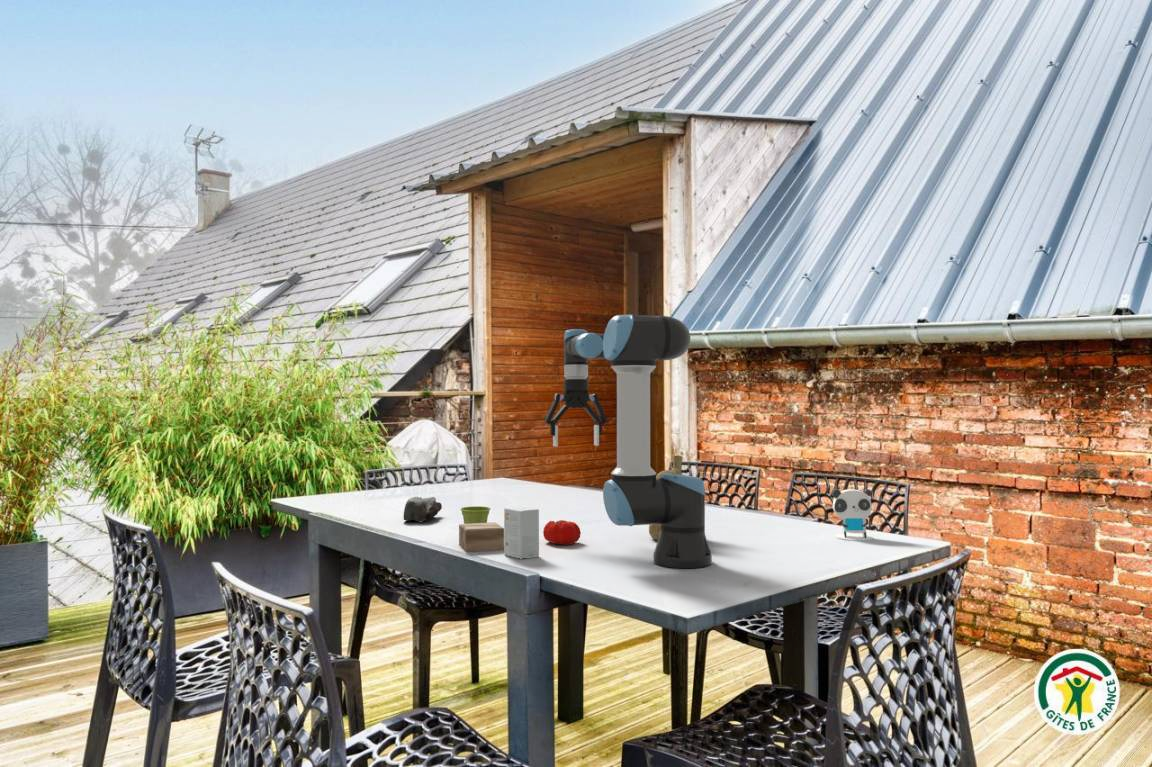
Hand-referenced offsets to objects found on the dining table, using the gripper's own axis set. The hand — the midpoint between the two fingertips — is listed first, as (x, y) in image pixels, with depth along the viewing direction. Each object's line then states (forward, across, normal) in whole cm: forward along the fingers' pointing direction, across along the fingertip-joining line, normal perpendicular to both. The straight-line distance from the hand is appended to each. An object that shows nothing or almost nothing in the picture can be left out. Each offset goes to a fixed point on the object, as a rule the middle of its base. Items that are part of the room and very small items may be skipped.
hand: (576, 446), depth 257 cm
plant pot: (+28, +30, -8) cm, 42 cm away
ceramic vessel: (+28, -27, +15) cm, 42 cm away
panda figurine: (+28, -80, +31) cm, 90 cm away
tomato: (+28, +8, +12) cm, 32 cm away
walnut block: (+28, +32, +11) cm, 44 cm away
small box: (+28, +24, +27) cm, 46 cm away
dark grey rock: (+28, +42, -47) cm, 69 cm away
